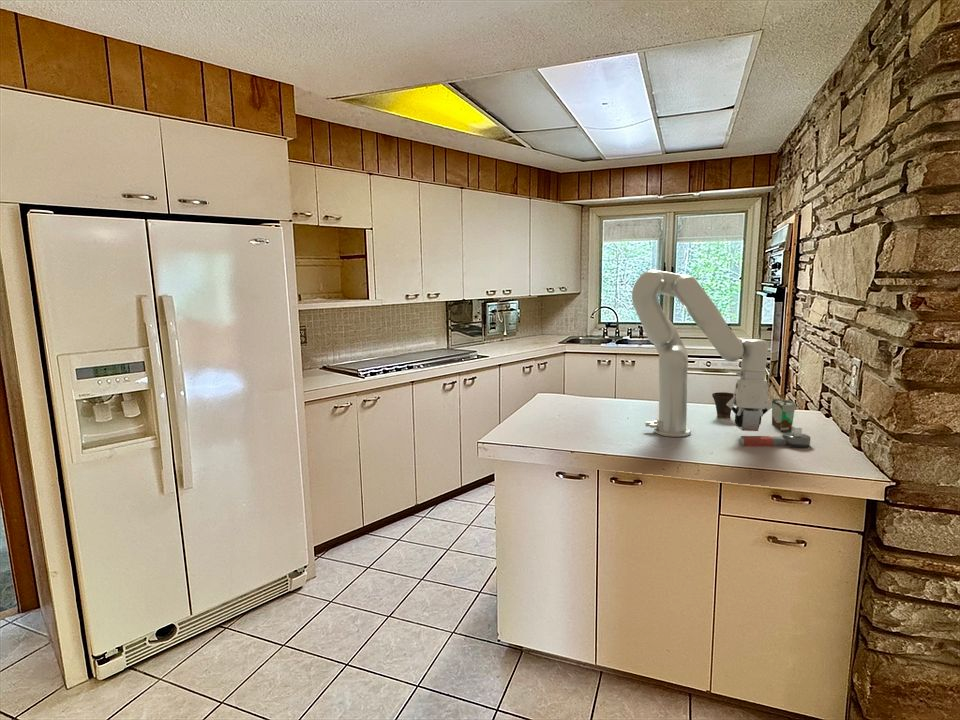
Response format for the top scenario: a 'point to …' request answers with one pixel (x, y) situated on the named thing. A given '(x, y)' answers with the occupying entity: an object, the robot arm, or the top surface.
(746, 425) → the square aluminium tube
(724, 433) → the top surface
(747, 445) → the ratchet
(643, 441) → the top surface
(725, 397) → the cup
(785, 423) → the food container
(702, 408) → the top surface
